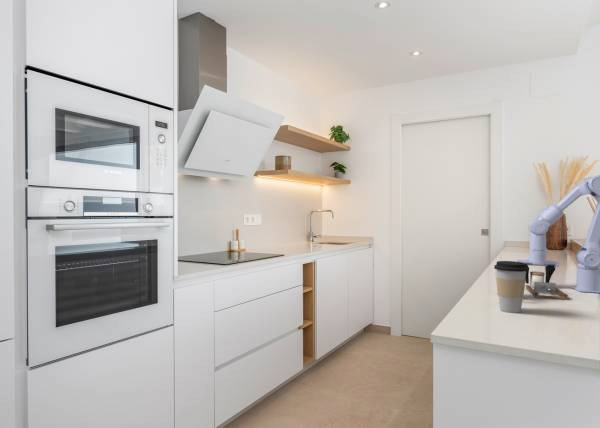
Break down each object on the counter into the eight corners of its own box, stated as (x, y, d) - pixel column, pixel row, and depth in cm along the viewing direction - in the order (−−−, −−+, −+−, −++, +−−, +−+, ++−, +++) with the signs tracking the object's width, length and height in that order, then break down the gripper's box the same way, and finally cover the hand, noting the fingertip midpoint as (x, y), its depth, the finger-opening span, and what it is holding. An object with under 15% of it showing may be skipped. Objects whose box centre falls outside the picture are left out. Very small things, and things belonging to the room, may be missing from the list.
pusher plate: (555, 293, 151) (555, 282, 150) (561, 298, 143) (561, 287, 143) (533, 292, 153) (534, 281, 153) (539, 296, 145) (539, 285, 145)
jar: (542, 286, 164) (542, 271, 164) (545, 289, 159) (546, 273, 159) (528, 285, 165) (528, 271, 165) (531, 288, 161) (531, 273, 160)
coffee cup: (533, 314, 122) (534, 265, 121) (501, 314, 122) (502, 264, 121) (517, 306, 131) (518, 260, 131) (488, 306, 131) (488, 260, 131)
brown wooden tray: (554, 290, 156) (555, 286, 156) (568, 300, 140) (568, 295, 140) (525, 288, 159) (525, 285, 159) (536, 297, 143) (536, 293, 143)
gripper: (555, 249, 163) (554, 283, 164) (515, 248, 168) (514, 280, 168) (560, 251, 157) (560, 286, 157) (519, 250, 161) (518, 283, 161)
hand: (537, 283), depth 162 cm, fingers open, 6 cm apart
